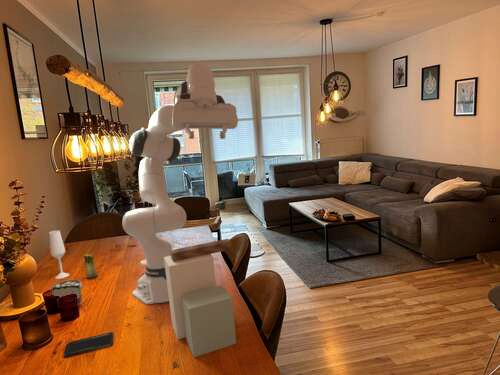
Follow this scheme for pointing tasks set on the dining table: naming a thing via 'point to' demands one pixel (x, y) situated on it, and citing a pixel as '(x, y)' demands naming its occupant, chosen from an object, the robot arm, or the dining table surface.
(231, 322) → the sage base
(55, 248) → the champagne flute
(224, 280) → the dining table surface
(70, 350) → the phone
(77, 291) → the food container
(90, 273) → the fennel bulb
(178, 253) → the walnut bar
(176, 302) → the white pedestal
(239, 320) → the dining table surface
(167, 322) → the dining table surface
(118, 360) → the dining table surface
